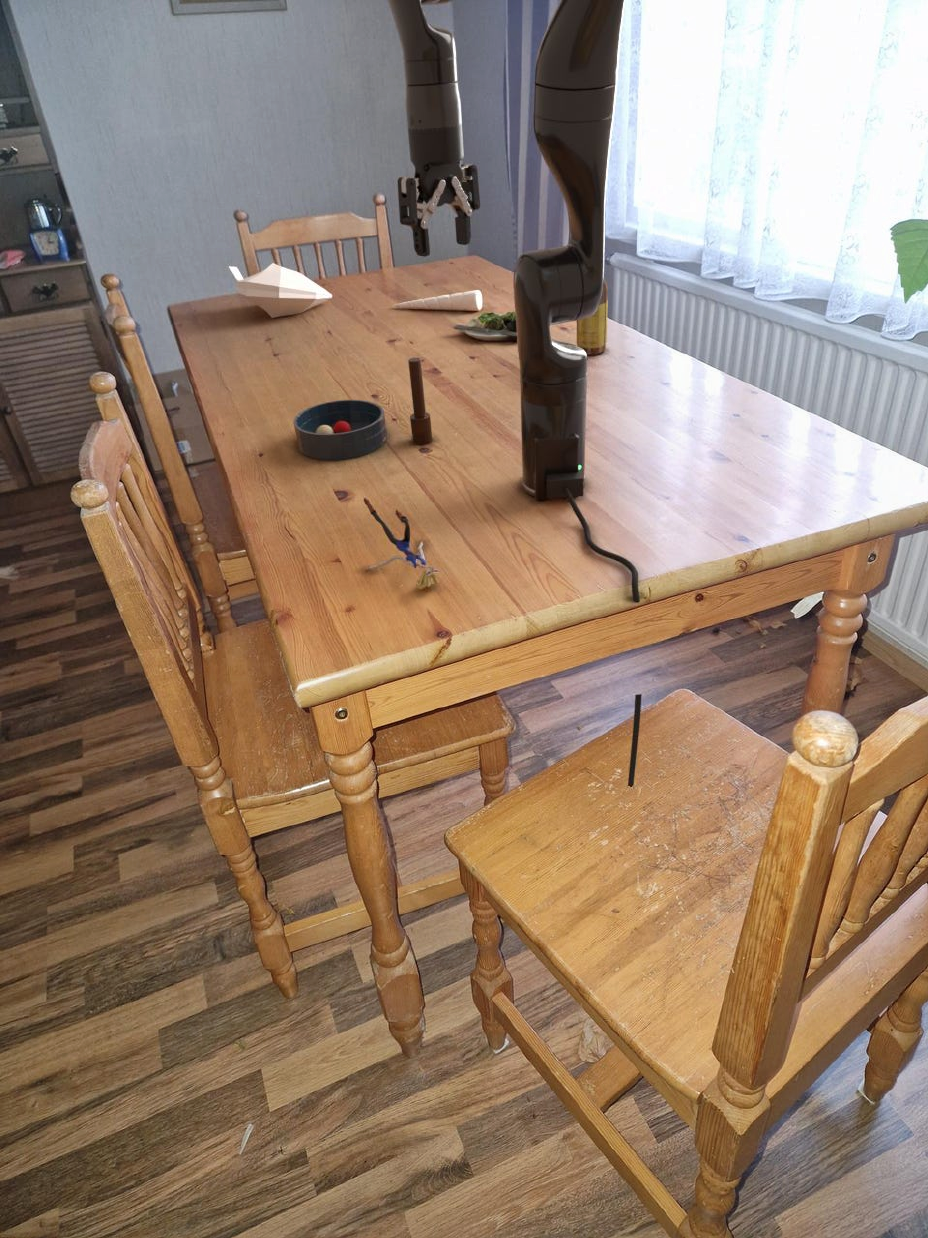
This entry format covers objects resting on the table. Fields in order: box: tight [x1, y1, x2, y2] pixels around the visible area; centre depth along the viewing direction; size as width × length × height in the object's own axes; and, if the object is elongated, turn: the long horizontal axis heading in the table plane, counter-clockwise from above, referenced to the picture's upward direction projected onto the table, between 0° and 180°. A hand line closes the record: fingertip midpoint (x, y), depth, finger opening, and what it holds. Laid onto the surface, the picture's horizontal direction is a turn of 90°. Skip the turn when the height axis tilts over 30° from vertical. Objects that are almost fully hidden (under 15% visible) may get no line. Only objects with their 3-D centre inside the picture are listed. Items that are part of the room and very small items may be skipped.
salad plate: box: [452, 310, 517, 342], centre depth 184 cm, size 19×18×5 cm
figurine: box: [363, 497, 440, 590], centre depth 104 cm, size 10×9×20 cm
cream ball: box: [316, 425, 334, 434], centre depth 138 cm, size 3×3×3 cm
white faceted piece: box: [228, 262, 333, 319], centre depth 207 cm, size 25×24×12 cm
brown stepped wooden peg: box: [407, 357, 433, 446], centre depth 134 cm, size 3×3×14 cm
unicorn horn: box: [392, 289, 483, 312], centre depth 203 cm, size 5×24×5 cm, turn 68°
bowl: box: [292, 399, 388, 461], centre depth 139 cm, size 15×15×4 cm
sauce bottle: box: [576, 277, 609, 356], centre depth 164 cm, size 7×6×20 cm
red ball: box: [333, 421, 351, 434], centre depth 139 cm, size 3×3×3 cm
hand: (443, 249), depth 121 cm, fingers open, 8 cm apart
